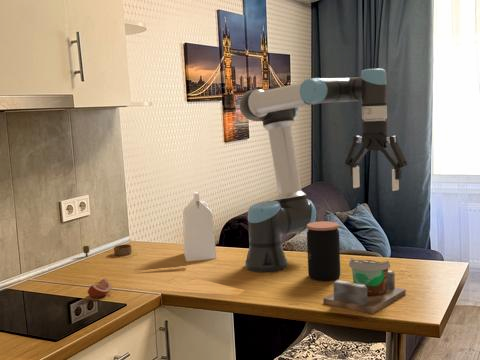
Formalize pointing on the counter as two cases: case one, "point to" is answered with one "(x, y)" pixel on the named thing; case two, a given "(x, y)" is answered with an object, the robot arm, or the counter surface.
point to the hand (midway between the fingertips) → (375, 188)
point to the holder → (363, 296)
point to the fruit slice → (99, 288)
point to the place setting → (115, 250)
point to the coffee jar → (323, 251)
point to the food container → (370, 275)
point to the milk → (198, 231)
